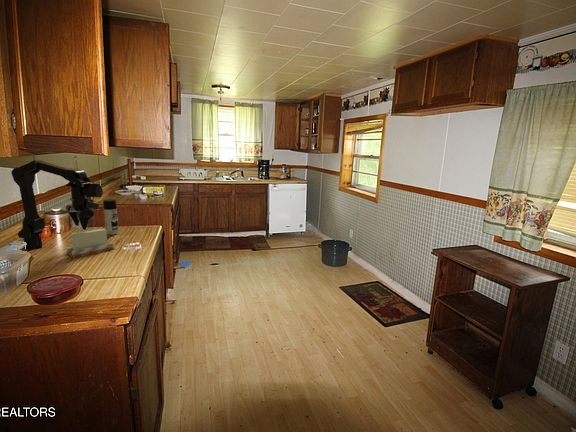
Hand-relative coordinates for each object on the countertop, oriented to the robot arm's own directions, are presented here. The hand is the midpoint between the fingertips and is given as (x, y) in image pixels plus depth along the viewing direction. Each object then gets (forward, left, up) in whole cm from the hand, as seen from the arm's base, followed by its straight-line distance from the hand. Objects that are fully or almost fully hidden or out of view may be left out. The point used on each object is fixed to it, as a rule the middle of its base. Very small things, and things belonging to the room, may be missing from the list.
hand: (80, 227), depth 154 cm
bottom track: (+2, -5, -11) cm, 13 cm away
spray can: (+23, +20, -12) cm, 32 cm away
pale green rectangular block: (+2, -5, -10) cm, 12 cm away
